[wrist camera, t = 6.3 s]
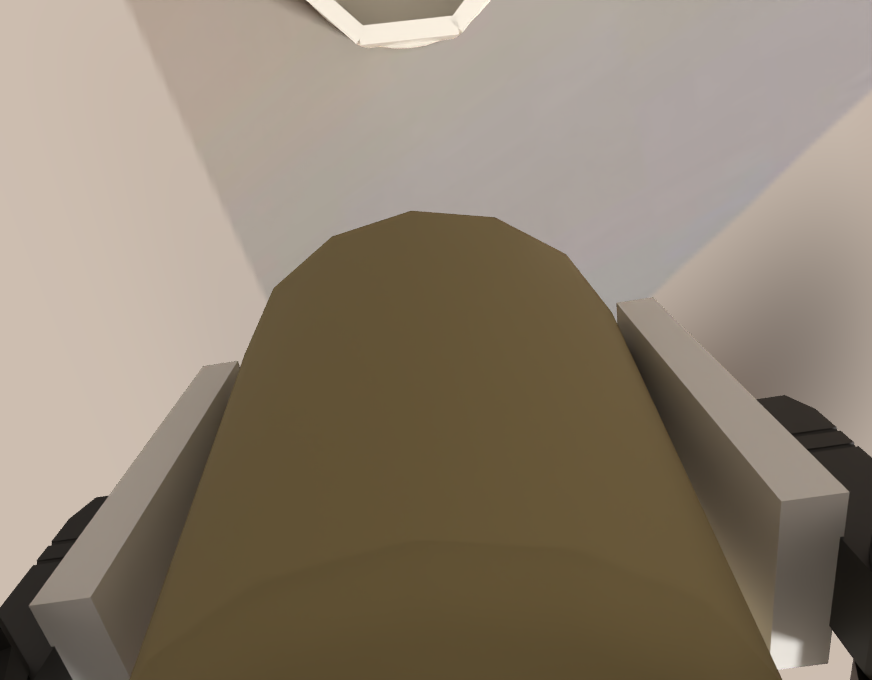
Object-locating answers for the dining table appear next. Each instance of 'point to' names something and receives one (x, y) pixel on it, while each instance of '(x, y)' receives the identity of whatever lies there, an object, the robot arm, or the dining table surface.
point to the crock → (399, 20)
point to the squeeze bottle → (445, 485)
